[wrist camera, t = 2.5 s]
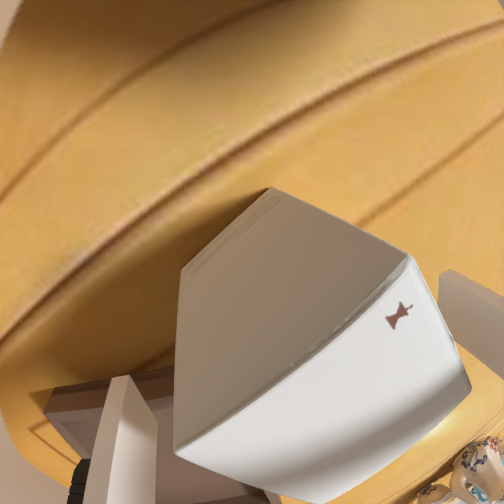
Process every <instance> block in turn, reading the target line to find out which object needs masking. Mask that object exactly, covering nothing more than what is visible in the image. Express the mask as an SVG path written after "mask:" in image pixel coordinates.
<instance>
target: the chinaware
mask: <svg viewBox="0 0 504 504" xmlns="http://www.w3.org/2000/svg"><path fill="white" fill-rule="evenodd" d="M503 439H504V438H503ZM503 439H502V440H500V438H498V439H497V438H496V437H495V436H488V437H486V435H485V434H483V435H481V436H479V437H477V438H476V439H475V440H473V441H472V442H471V443H470V444H469V445H467V446H466V447H465V448H464V449H463V450H462V451H461V452H460V453H459V454H458V456H457V457H456V458H455V459H454V461H453V463H452V465H453V466H454V469H453V472H452V475H451V479H450V482H449V486H450V488H448V487H447V486H445V485H442V484H436V485H433V483H430V484H428V485H426V486H425V487H423V488H422V489H421V490H420V491H419V492H418V493H417V496H419V497H414V498H412V500H411V502H410V504H413V503H412V501H413V499H415V498H418V501H417V504H442V503H443V502H445V501H448V500H449V499H451V498H452V496H453V495H455V496H456V497H457V498H459V499H460V500H462V501H464V502H465V503H467V504H480V503H479V501H478V500H477V499H476V498H475V497H474V495H473V494H472V493H471V492H470V491H469V490H468V489H467V488H466V486H465V484H466V483H471V484H473V485H475V486H477V487H478V488H480V489H481V490H482V491H483V492H484V494H485V495H486V496H487V498H488V501H489V503H490V504H492V503H494V502H495V501H496V502H503V501H504V467H503V465H502V462H501V461H503V460H504V440H503ZM441 502H442V503H441Z"/></svg>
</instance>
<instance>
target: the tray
mask: <svg viewBox="0 0 504 504" xmlns="http://www.w3.org/2000/svg"><path fill="white" fill-rule="evenodd" d="M174 371H175V366H172V367H168V368H163V369H159V370H154V371H149V372H145V373H140V374H135V375H130V377H131V378H132V380H133V382H134V384H135V385H136V387H137V389H138V390H139V392H140V394H141V395H142V397H143V399H144V400H145V402H146V404H147V405H148V407H149V409H150V410H151V412H152V413H153V415H154V416H155V418H156V419H157V421H158V432H157V452H156V486H155V504H282V502H281V498H280V495H279V494H276V493H272V492H269V491H266V490H263V489H260V488H257V487H254V486H251V485H248V484H245V483H242V482H239V481H237V480H234V479H231V478H229V477H226V476H224V475H221V474H218V473H216V472H213V471H211V470H209V469H206V468H204V467H201V466H199V465H196V464H194V463H192V462H190V461H187V460H185V459H183V458H181V457H179V456H177V455H175V454H174V452H173V406H174ZM111 380H112V379H108V380H102V381H97V382H91V383H84V384H78V385H71V386H64V387H57V388H54V390H53V392H52V395H51V397H50V399H49V401H48V403H47V406H46V408H45V410H44V412H43V413H44V415H45V416H46V417H47V418H48V420H49V421H50V422H51V423H52V425H53V426H54V427H55V428H56V429H57V431H58V432H59V433H60V434H61V435H62V436H63V438H64V439H65V440H66V441H67V442H68V443H69V444H70V446H71V447H72V448H73V449H74V450H75V451H76V452H77V453H78V454H79V455H80V456H81V457H82V458H83V459H91V458H92V453H93V449H94V445H95V440H96V436H97V432H98V428H99V424H100V420H101V416H102V412H103V408H104V405H105V401H106V397H107V394H108V390H109V387H110V383H111Z"/></svg>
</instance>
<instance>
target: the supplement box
mask: <svg viewBox="0 0 504 504" xmlns="http://www.w3.org/2000/svg"><path fill="white" fill-rule="evenodd" d="M471 388H472V386H471V384H470V380H469V378H468V375H467V373H466V370H465V368H464V365H463V363H462V360H461V358H460V355H459V353H458V350H457V347H456V345H455V341H454V339H453V336H452V334H451V333H450V331H449V329H448V327H447V325H446V323H445V320H444V318H443V316H442V314H441V312H440V310H439V308H438V306H437V304H436V302H435V300H434V298H433V295H432V293H431V291H430V289H429V287H428V286H427V284H426V282H425V280H424V278H423V276H422V274H421V272H420V270H419V267H418V265H417V263H416V261H415V259H414V258H413V256H411V255H410V254H408V253H406V252H405V251H403V250H401V249H399V248H397V247H396V246H394V245H392V244H390V243H388V242H386V241H384V240H382V239H380V238H379V237H377V236H375V235H373V234H371V233H369V232H367V231H365V230H363V229H361V228H359V227H357V226H355V225H353V224H351V223H349V222H347V221H345V220H343V219H341V218H339V217H337V216H335V215H332V214H330V213H328V212H326V211H324V210H322V209H320V208H318V207H316V206H314V205H311V204H309V203H307V202H305V201H303V200H301V199H298V198H296V197H294V196H292V195H290V194H287V193H286V192H283V191H281V190H279V189H276V188H274V187H270V188H269V189H268V190H267V191H266V192H265V193H264V194H262V195H261V196H260V197H259V198H258V199H257V200H256V201H254V202H253V203H252V204H251V205H250V206H249V207H248V208H247V209H246V210H245V211H244V212H243V213H241V214H240V215H239V216H238V217H237V218H236V219H235V220H234V221H232V222H231V223H230V224H229V225H228V226H227V227H226V228H225V229H224V230H223V231H222V232H221V233H219V234H218V235H217V236H216V237H215V238H214V239H213V240H212V241H211V242H210V243H209V244H208V245H207V246H205V247H204V248H203V249H202V250H201V251H200V252H199V253H198V254H197V255H196V256H195V257H194V258H193V259H192V260H191V261H190V262H188V263H187V264H186V265H185V266H184V267H183V268H182V270H181V274H180V285H179V298H178V313H177V328H176V344H175V371H174V406H173V452H174V454H175V455H177V456H179V457H181V458H183V459H185V460H187V461H190V462H192V463H194V464H196V465H199V466H201V467H204V468H206V469H209V470H211V471H213V472H216V473H218V474H221V475H224V476H226V477H229V478H231V479H234V480H237V481H239V482H242V483H245V484H248V485H251V486H254V487H257V488H260V489H263V490H266V491H269V492H272V493H276V494H279V495H283V496H286V497H290V498H294V499H297V500H301V501H305V502H309V503H313V504H325V503H327V502H329V501H331V500H333V499H334V498H336V497H338V496H340V495H342V494H344V493H345V492H347V491H349V490H350V489H352V488H354V487H355V486H357V485H359V484H360V483H362V482H363V481H365V480H366V479H368V478H369V477H371V476H372V475H374V474H375V473H377V472H378V471H380V470H381V469H383V468H384V467H386V466H387V465H388V464H390V463H391V462H393V461H394V460H395V459H397V458H398V457H399V456H401V455H402V454H403V453H404V452H406V451H407V450H408V449H410V448H411V447H412V446H413V445H414V444H416V443H417V442H418V441H419V440H421V439H422V438H423V437H424V436H425V435H426V434H428V433H429V432H430V431H431V430H432V429H433V428H434V427H436V426H437V425H438V424H439V423H440V422H441V421H442V420H443V419H444V418H445V417H446V416H447V415H448V414H449V413H450V412H451V411H452V410H453V409H454V408H456V407H457V406H458V405H459V404H460V403H461V402H462V401H463V399H464V398H465V397H466V396H467V395H468V394H469V393H470V392H471Z"/></svg>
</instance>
